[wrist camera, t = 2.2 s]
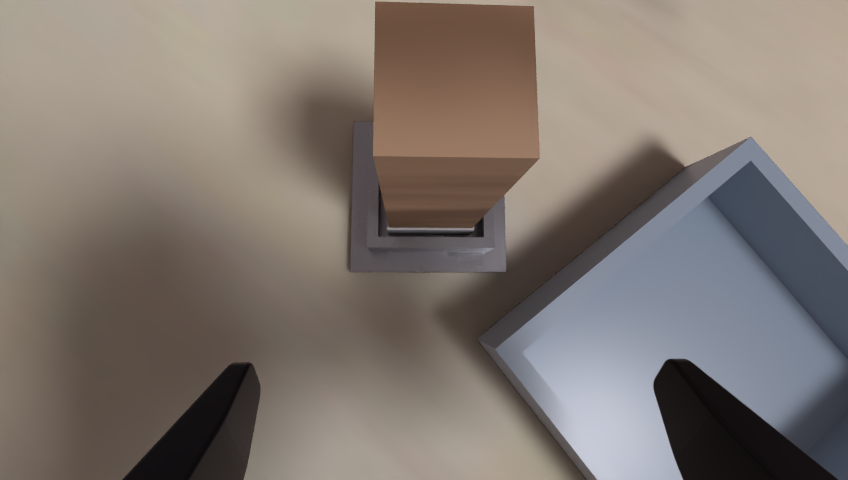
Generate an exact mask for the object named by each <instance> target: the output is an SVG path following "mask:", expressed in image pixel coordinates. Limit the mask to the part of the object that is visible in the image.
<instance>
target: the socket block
mask: <svg viewBox="0 0 848 480" xmlns="http://www.w3.org/2000/svg"><path fill="white" fill-rule="evenodd" d="M373 123H374V122H362V121H354V129H353V174H352V219H351V263H350V272H506V241H505V204H504V196H503V197H502V198H501V199H500V200H499V201H498V202H497V203H496V204H495V205H494V206H493V207H492V208H491V209H490V210H489V211H488V212H487V213H486V214H485V215H484V216H483V217H482V218H481V220H480V221H479V222H478V223H477V224H476V225H475V226H474V231H473V232H472V233H471V234H470V235H388V232H387V216H386V212H385V207H384V203H383V199H382V194H381V190H380V185H379V181H378V176H377V172H376V167H375V163H374V158H373Z"/></svg>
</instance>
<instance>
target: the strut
mask: <svg viewBox="0 0 848 480" xmlns="http://www.w3.org/2000/svg"><path fill="white" fill-rule="evenodd" d="M373 158H374V163H375V167H376V172H377V176H378V181H379V185H380V190H381V194H382V199H383V203H384V207H385V212H386V216H387V232H388V235H470V234H471V233H472V232H473V231H474V226H475V225H476V224H477V223H478V222H479V221H480V220H481V218H482V217H483V216H484V215H485V214H486V213H487V212H488V211H489V210H490V209H491V208H492V207H493V206H494V205H495V204H496V203H497V202H498V201H499V200H500V199H501V198H502V197H503V196H504V195H505V194H506V193H507V192H508V191H509V189H510V188H511V187H512V186H513V185H514V184H515V183H516V182H517V181H518V180H519V179H520V178H521V177H522V176H523V175H524V174H525V173H526V172H527V171H528V170H529V169H530V168H531V167H532V166H533V165H534V164H535V163H536V162H537V160H538V159H539V158H540V157H539V131H538V106H537V80H536V54H535V29H534V6H506V5H473V4H439V3H406V2H375V60H374V123H373Z"/></svg>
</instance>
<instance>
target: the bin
mask: <svg viewBox="0 0 848 480" xmlns="http://www.w3.org/2000/svg"><path fill="white" fill-rule="evenodd" d="M477 340H478V341H479V342H480V343H481V345H482V346H483V347H484V349H485V350H486V351H487V352H488V354H489V355H490V356H491V358H492V359H493V360H494V361H495V363H496V364H497V365H498V367H499V368H500V369H501V370H502V372H503V373H504V374H505V376H506V377H507V378H508V379H509V381H510V382H511V383H512V385H513V386H514V387H515V388H516V390H517V391H518V392H519V393H520V395H521V396H522V397H523V399H524V400H525V401H526V402H527V404H528V405H529V406H530V408H531V409H532V410H533V411H534V413H535V414H536V415H537V417H538V418H539V419H540V420H541V422H542V423H543V424H544V426H545V427H546V428H547V429H548V431H549V432H550V433H551V435H552V436H553V437H554V438H555V440H556V441H557V442H558V444H559V445H560V446H561V447H562V449H563V450H564V451H565V452H566V454H567V455H568V456H569V458H570V459H571V460H572V461H573V463H574V464H575V465H576V467H577V468H578V469H579V470H580V472H581V473H582V474H583V476H584V477H585V478H586V479H587V480H683V478H682V476H681V474H680V471H679V469H678V466H677V463H676V461H675V458H674V455H673V452H672V449H671V446H670V443H669V440H668V436H667V433H666V430H665V426H664V423H663V420H662V416H661V413H660V410H659V406H658V403H657V400H656V396H655V393H654V389H653V382H654V379H655V377H656V375H657V374H658V372H659V370H660V369H661V367H662V366H663V364H664V362H665V361H666V360H668V359H687V360H689V361H691V362H692V363H694V364H695V365H696V366H697V367H699V368H700V369H701V370H702V371H704V372H705V373H706V374H707V375H709V376H710V377H711V378H712V379H714V380H715V381H716V382H717V383H719V384H720V385H721V386H722V387H724V388H725V389H726V390H727V391H729V392H730V393H731V394H732V395H734V396H735V397H736V398H737V399H739V400H740V401H741V402H742V403H744V404H745V405H746V406H747V407H749V408H750V409H751V410H752V411H754V412H755V413H756V414H757V415H759V416H760V417H761V418H762V419H764V420H765V421H766V422H767V423H769V424H770V425H771V426H772V427H774V428H775V429H776V430H777V431H779V432H780V433H781V434H782V435H784V436H785V437H786V438H787V439H789V440H790V441H791V442H792V443H794V444H795V445H796V446H797V447H799V448H800V449H801V450H802V451H804V452H805V453H806V454H807V455H809V456H810V457H811V458H812V459H814V460H815V461H816V462H817V463H819V464H820V465H821V466H822V467H824V468H825V469H826V470H827V471H829V472H830V473H831V474H832V475H834V476H835V477H836V478H837V479H839V480H848V246H847V244H846V243H845V242H844V241H843V240H842V239H841V238H840V237H839V235H838V234H837V233H836V232H835V231H834V230H833V229H832V227H831V226H830V225H829V224H828V223H827V222H826V221H825V220H824V218H823V217H822V216H821V215H820V214H819V213H818V212H817V211H816V209H815V208H814V207H813V206H812V205H811V204H810V203H809V201H808V200H807V199H806V198H805V197H804V196H803V195H802V194H801V192H800V191H799V190H798V189H797V188H796V187H795V186H794V185H793V183H792V182H791V181H790V180H789V179H788V178H787V177H786V175H785V174H784V173H783V172H782V171H781V170H780V169H779V168H778V166H777V165H776V164H775V163H774V162H773V161H772V160H771V159H770V157H769V156H768V155H767V154H766V153H765V152H764V151H763V149H762V148H761V147H760V146H759V145H758V144H757V143H756V142H755V140H754V139H753V138H752V137H749V138H747V139H745V140H743V141H741V142H739V143H736V144H734V145H732V146H730V147H728V148H726V149H724V150H721V151H719V152H717V153H715V154H713V155H711V156H709V157H706V158H704V159H702V160H700V161H698V162H696V163H693V164H691V165H689V166H687V167H686V168H684V169H683V170H682V171H681V172H679V173H678V174H677V175H676V176H675V177H673V178H672V179H671V180H670V181H668V182H667V183H666V184H665V185H664V186H662V187H661V188H660V189H659V190H658V191H656V192H655V193H654V194H653V195H651V196H650V197H649V198H648V199H647V200H645V201H644V202H643V203H642V204H640V205H639V206H638V207H637V208H636V209H634V210H633V211H632V212H631V213H629V214H628V215H627V216H626V217H625V218H623V219H622V220H621V221H620V222H619V223H617V224H616V225H615V226H614V227H612V228H611V229H610V230H609V231H608V232H606V233H605V234H604V235H603V236H601V237H600V238H599V239H598V240H597V241H595V242H594V243H593V244H592V245H590V246H589V247H588V248H587V249H586V250H584V251H583V252H582V253H581V254H580V255H578V256H577V257H576V258H575V259H573V260H572V261H571V262H570V263H569V264H567V265H566V266H565V267H564V268H562V269H561V270H560V271H559V272H558V273H556V274H555V275H554V276H553V277H552V278H550V279H549V280H548V281H547V282H545V283H544V284H543V285H542V286H541V287H539V288H538V289H537V290H536V291H534V292H533V293H532V294H531V295H530V296H528V297H527V298H526V299H525V300H523V301H522V302H521V303H520V304H519V305H517V306H516V307H515V308H514V309H513V310H511V311H510V312H509V313H508V314H506V315H505V316H504V317H503V318H502V319H500V320H499V321H498V322H497V323H495V324H494V325H493V326H492V327H491V328H489V329H488V330H487V331H486V332H484V333H483V334H482V335H481V336H480V337H478V338H477Z"/></svg>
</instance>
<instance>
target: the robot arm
mask: <svg viewBox="0 0 848 480" xmlns="http://www.w3.org/2000/svg"><path fill="white" fill-rule="evenodd" d="M653 389H654V393H655V396H656V400H657V403H658V406H659V410H660V413H661V416H662V420H663V423H664V426H665V430H666V433H667V436H668V440H669V443H670V446H671V449H672V452H673V455H674V458H675V461H676V463H677V466H678V469H679V471H680V474H681V476H682V478H683V480H839V479H837V478H836V477H835V476H834V475H832V474H831V473H830V472H829V471H827V470H826V469H825V468H824V467H822V466H821V465H820V464H819V463H817V462H816V461H815V460H814V459H812V458H811V457H810V456H809V455H807V454H806V453H805V452H804V451H802V450H801V449H800V448H799V447H797V446H796V445H795V444H794V443H792V442H791V441H790V440H789V439H787V438H786V437H785V436H784V435H782V434H781V433H780V432H779V431H777V430H776V429H775V428H774V427H772V426H771V425H770V424H769V423H767V422H766V421H765V420H764V419H762V418H761V417H760V416H759V415H757V414H756V413H755V412H754V411H752V410H751V409H750V408H749V407H747V406H746V405H745V404H744V403H742V402H741V401H740V400H739V399H737V398H736V397H735V396H734V395H732V394H731V393H730V392H729V391H727V390H726V389H725V388H724V387H722V386H721V385H720V384H719V383H717V382H716V381H715V380H714V379H712V378H711V377H710V376H709V375H707V374H706V373H705V372H704V371H702V370H701V369H700V368H699V367H697V366H696V365H695V364H694V363H692V362H691V361H689V360H687V359H668V360H666V361H665V362H664V364H663V366H662V367H661V369H660V370H659V372H658V374H657V375H656V377H655V379H654V382H653ZM259 399H260V383H259V380H258V377H257V374H256V372H255V369H254V366H253V364H252V363H250V362H235V363H232V364H230V365H229V366H228V367H227V368H226V369H225V370H224V371H223V372H222V373H221V374H220V375H219V376H218V377H217V378H216V380H215V381H214V382H213V383H212V384H211V385H210V386H209V387H208V388H207V389H206V390H205V391H204V392H203V394H202V395H201V396H200V397H199V398H198V399H197V400H196V401H195V402H194V403H193V404H192V405H191V406H190V408H189V409H188V410H187V411H186V412H185V413H184V414H183V415H182V416H181V417H180V418H179V419H178V420H177V421H176V423H175V424H174V425H173V426H172V427H171V428H170V429H169V430H168V431H167V432H166V433H165V434H164V435H163V437H162V438H161V439H160V440H159V441H158V442H157V443H156V444H155V445H154V446H153V447H152V448H151V449H150V451H149V452H148V453H147V454H146V455H145V456H144V457H143V458H142V459H141V460H140V461H139V462H138V463H137V465H136V466H135V467H134V468H133V469H132V470H131V471H130V472H129V473H128V474H127V475H126V476H125V477H124V478H123V480H244V476H245V472H246V468H247V464H248V459H249V454H250V448H251V443H252V437H253V432H254V426H255V421H256V415H257V410H258V404H259Z"/></svg>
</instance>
